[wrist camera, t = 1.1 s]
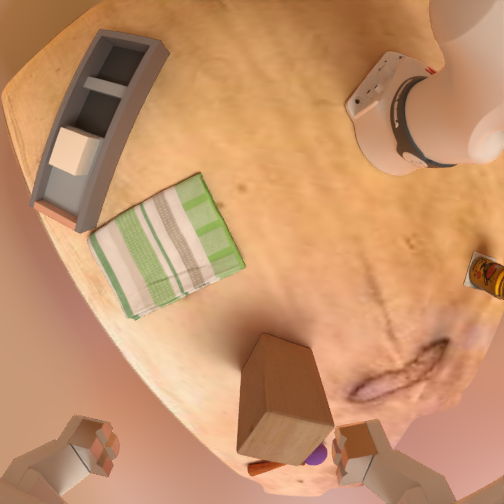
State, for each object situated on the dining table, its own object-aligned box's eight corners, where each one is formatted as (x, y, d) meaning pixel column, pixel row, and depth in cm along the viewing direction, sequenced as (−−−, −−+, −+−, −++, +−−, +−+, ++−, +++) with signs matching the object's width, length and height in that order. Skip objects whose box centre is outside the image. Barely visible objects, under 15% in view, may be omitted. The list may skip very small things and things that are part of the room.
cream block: (74, 129, 39) (61, 127, 36) (100, 139, 40) (88, 137, 36) (62, 163, 41) (48, 163, 37) (87, 175, 41) (74, 175, 37)
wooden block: (240, 372, 53) (235, 454, 34) (262, 331, 51) (265, 411, 31) (288, 387, 54) (299, 467, 35) (312, 348, 52) (336, 427, 32)
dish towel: (89, 234, 47) (79, 238, 44) (200, 169, 45) (195, 168, 41) (135, 317, 51) (128, 326, 48) (248, 266, 48) (248, 273, 45)
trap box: (112, 40, 38) (99, 28, 33) (170, 53, 39) (160, 40, 34) (47, 202, 45) (29, 205, 40) (96, 227, 46) (79, 233, 41)
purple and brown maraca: (242, 471, 57) (321, 451, 52) (247, 456, 62) (321, 434, 58) (254, 484, 57) (331, 465, 53) (258, 469, 63) (330, 448, 58)
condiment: (473, 250, 47) (512, 268, 35) (496, 259, 47) (532, 275, 36) (462, 285, 49) (498, 307, 37) (486, 290, 49) (520, 312, 38)
